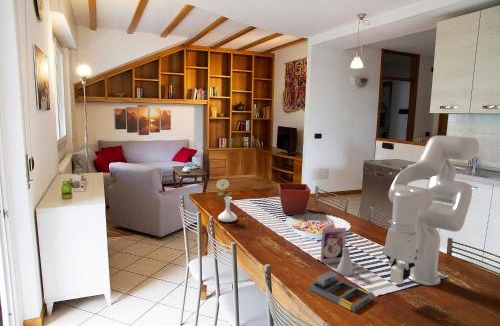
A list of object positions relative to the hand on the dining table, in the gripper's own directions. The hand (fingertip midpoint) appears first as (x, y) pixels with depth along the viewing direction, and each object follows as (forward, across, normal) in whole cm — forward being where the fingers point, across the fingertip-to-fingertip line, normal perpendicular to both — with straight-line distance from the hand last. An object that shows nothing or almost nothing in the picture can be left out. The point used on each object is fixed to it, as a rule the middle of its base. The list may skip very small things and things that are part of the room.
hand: (399, 275), depth 122 cm
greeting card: (+10, -36, +9) cm, 38 cm away
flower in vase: (+10, -107, +6) cm, 108 cm away
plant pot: (+12, -95, +52) cm, 109 cm away
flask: (+9, -24, +3) cm, 26 cm away
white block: (+1, 0, +1) cm, 1 cm away
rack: (+8, -15, -14) cm, 22 cm away
